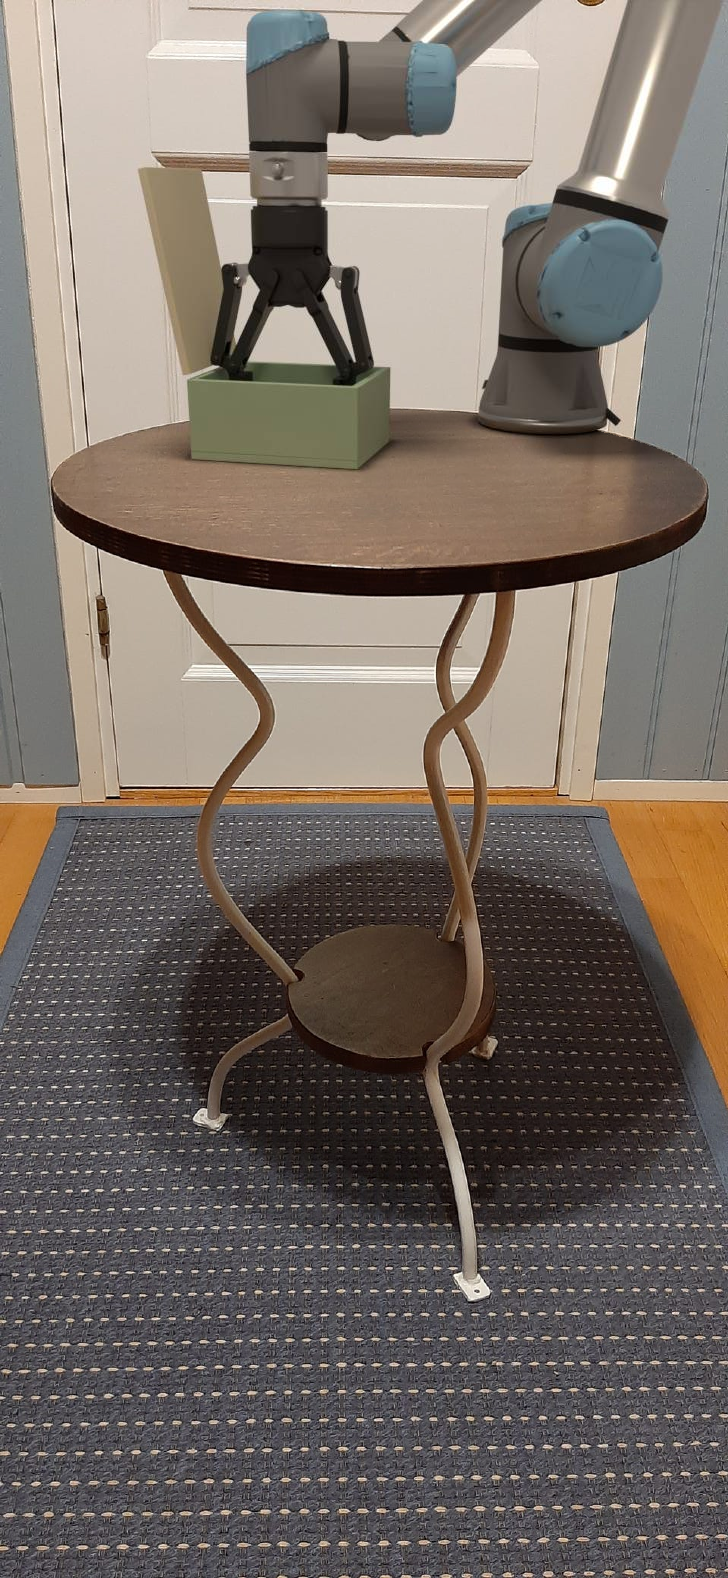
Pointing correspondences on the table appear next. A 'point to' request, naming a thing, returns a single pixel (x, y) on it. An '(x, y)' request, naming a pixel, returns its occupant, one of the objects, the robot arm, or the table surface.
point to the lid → (185, 259)
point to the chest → (289, 416)
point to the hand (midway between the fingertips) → (292, 439)
